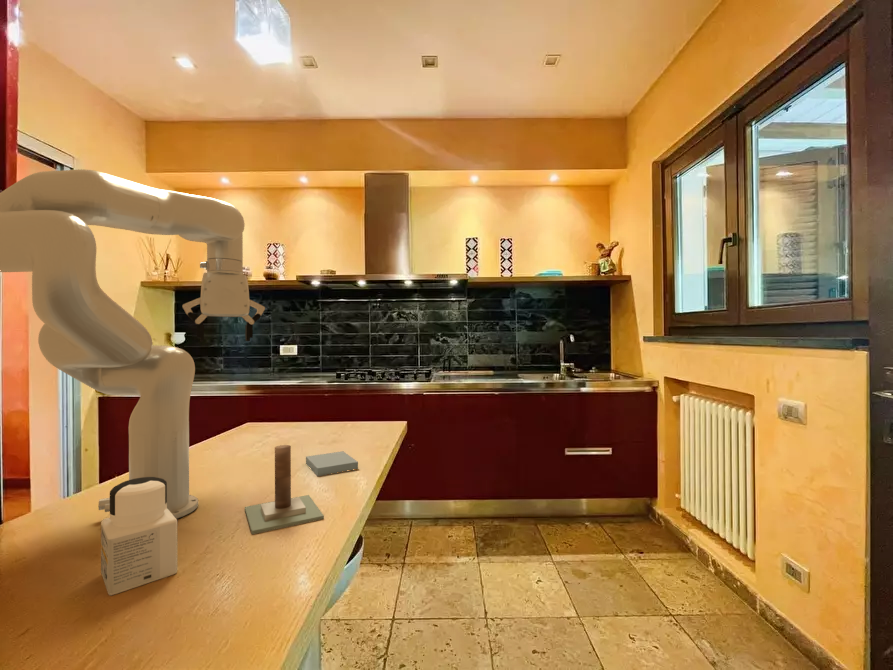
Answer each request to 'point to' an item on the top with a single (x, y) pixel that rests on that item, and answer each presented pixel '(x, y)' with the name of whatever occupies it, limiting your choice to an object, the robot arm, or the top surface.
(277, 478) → the brown upright post
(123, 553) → the container
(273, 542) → the top surface
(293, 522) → the mat
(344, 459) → the tile
